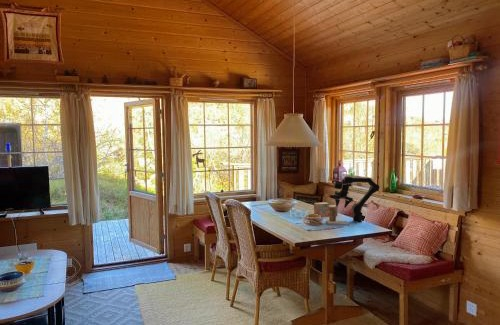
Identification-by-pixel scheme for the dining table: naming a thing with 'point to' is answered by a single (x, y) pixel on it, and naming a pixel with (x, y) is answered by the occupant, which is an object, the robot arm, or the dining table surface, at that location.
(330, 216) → the walnut pillar
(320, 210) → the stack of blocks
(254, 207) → the dining table surface
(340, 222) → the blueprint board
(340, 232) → the dining table surface
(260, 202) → the dining table surface
